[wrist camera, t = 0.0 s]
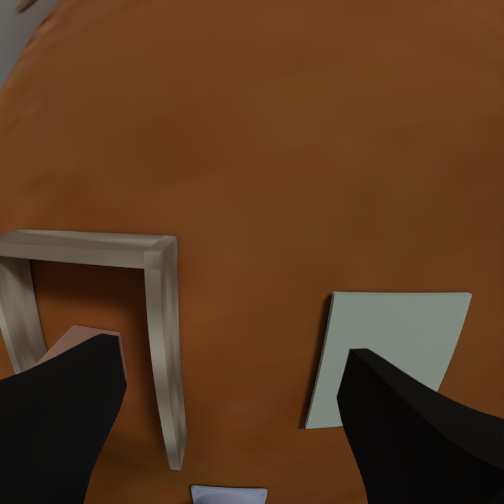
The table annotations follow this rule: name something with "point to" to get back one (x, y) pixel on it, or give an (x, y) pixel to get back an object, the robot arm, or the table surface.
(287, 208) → the table surface
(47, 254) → the slot housing
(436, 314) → the mat
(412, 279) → the table surface
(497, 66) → the table surface
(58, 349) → the terracotta block
